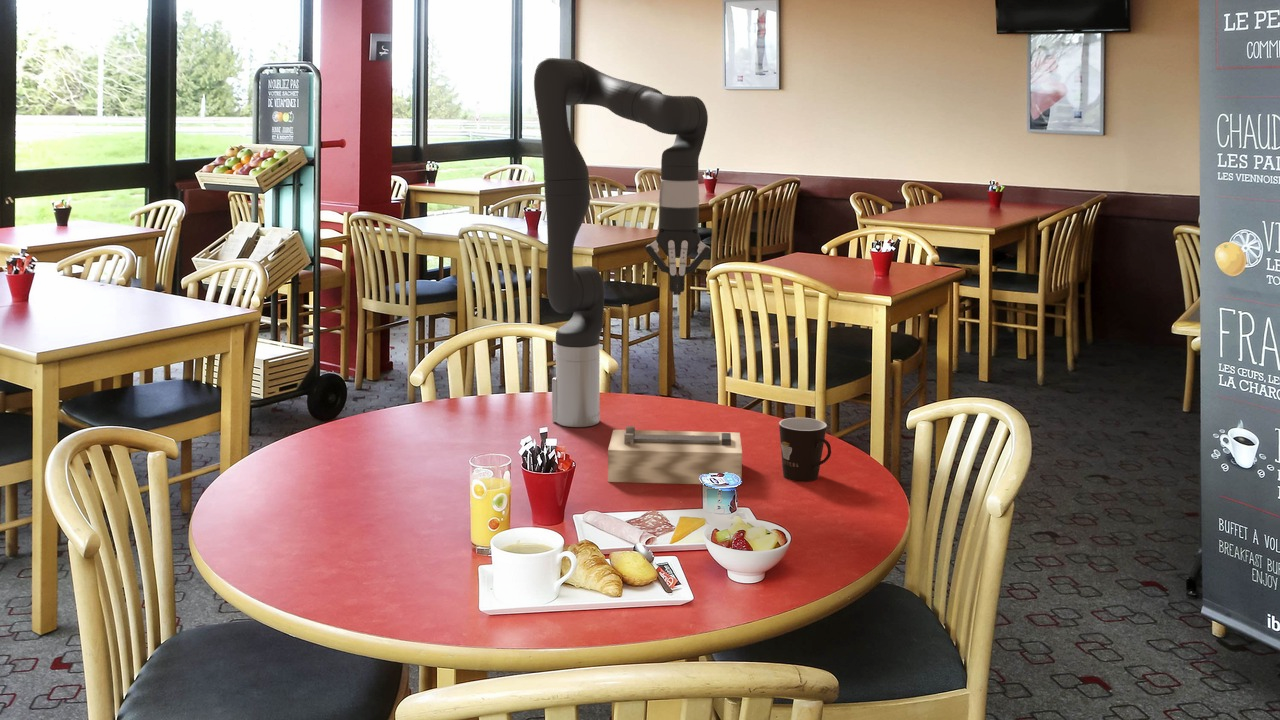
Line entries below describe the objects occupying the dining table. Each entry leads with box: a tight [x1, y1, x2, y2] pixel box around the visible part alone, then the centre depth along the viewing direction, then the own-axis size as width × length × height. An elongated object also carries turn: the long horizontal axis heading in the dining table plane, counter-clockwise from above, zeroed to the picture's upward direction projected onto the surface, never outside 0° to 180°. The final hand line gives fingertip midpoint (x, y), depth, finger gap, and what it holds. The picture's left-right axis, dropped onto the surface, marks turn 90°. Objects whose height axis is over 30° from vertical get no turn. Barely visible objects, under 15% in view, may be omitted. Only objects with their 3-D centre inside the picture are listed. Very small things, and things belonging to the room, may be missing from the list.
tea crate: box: [607, 425, 743, 485], centre depth 213 cm, size 24×13×8 cm, turn 87°
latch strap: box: [633, 434, 719, 444], centre depth 213 cm, size 16×3×1 cm, turn 87°
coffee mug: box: [778, 417, 832, 483], centre depth 210 cm, size 12×9×10 cm
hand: (677, 294), depth 222 cm, fingers closed
